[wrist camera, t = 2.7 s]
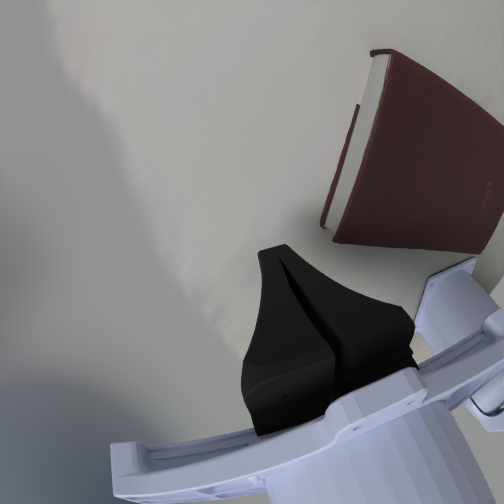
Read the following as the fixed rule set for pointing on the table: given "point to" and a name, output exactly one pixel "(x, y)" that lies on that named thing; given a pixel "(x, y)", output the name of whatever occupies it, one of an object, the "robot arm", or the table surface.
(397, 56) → the book
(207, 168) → the table surface
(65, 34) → the table surface
